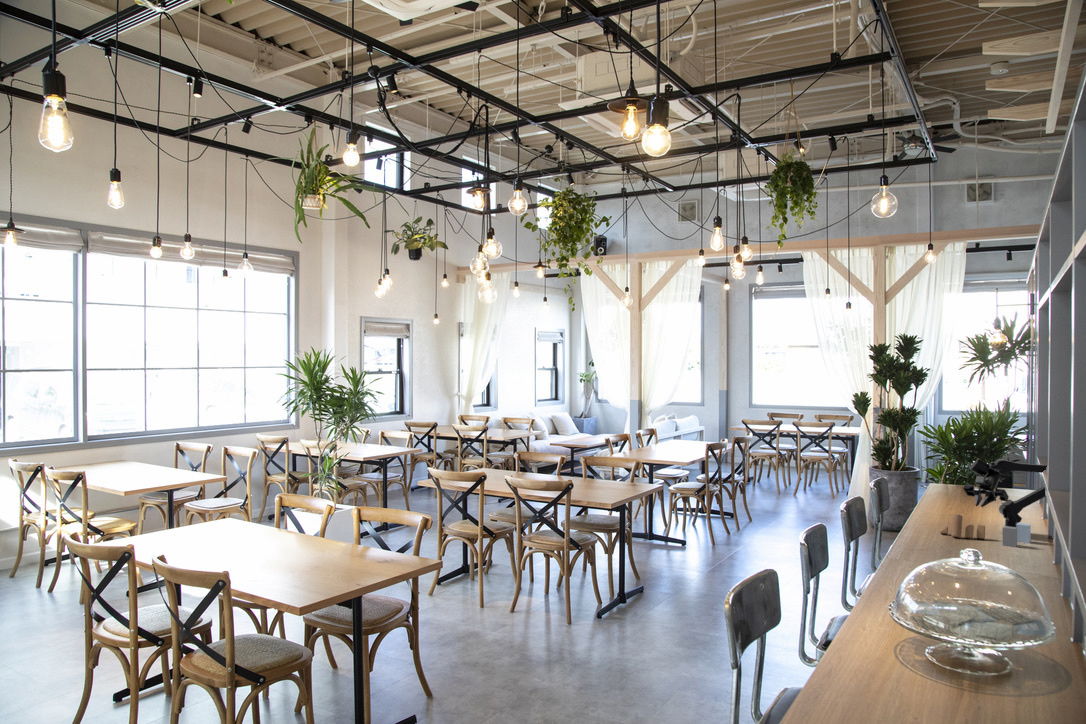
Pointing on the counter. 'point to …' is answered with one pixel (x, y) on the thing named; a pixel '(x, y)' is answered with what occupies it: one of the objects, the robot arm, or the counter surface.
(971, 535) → the wooden block set
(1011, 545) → the gray rectangular block
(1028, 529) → the slate blue block
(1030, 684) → the counter surface
